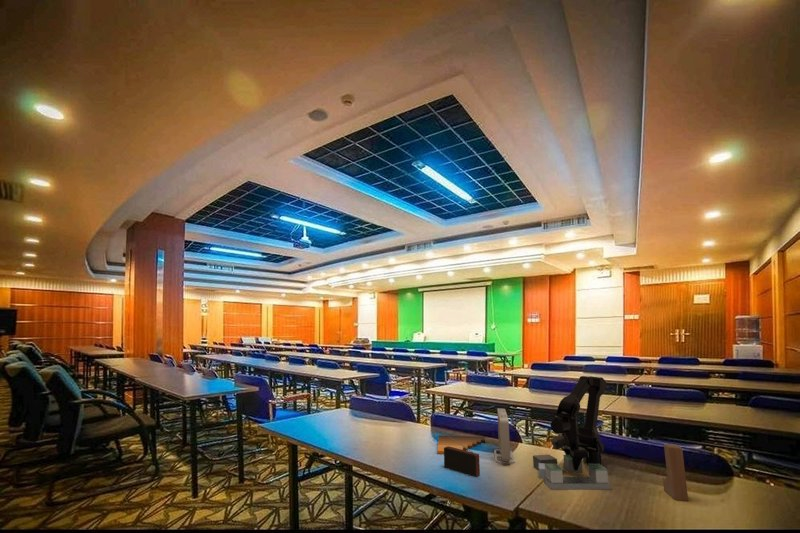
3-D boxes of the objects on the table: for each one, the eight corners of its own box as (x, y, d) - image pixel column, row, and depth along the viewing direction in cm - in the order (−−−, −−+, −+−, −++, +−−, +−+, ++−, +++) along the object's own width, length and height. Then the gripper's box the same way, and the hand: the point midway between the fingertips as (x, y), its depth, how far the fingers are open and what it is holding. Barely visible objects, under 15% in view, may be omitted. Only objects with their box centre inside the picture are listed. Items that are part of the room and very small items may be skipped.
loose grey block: (550, 466, 171) (549, 454, 171) (557, 471, 165) (556, 459, 166) (533, 467, 169) (532, 455, 170) (540, 472, 163) (540, 460, 164)
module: (578, 469, 166) (576, 454, 167) (582, 473, 162) (581, 458, 163) (564, 469, 166) (563, 454, 167) (568, 473, 162) (567, 458, 163)
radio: (480, 475, 160) (479, 437, 162) (476, 477, 158) (475, 439, 160) (444, 464, 172) (444, 430, 175) (440, 466, 170) (440, 431, 173)
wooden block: (663, 489, 145) (658, 440, 148) (676, 491, 144) (671, 440, 147) (674, 500, 136) (668, 447, 139) (688, 501, 135) (682, 447, 138)
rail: (601, 481, 153) (599, 463, 154) (610, 489, 146) (609, 469, 147) (544, 482, 153) (543, 463, 154) (550, 489, 146) (549, 469, 147)
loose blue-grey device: (551, 474, 162) (551, 464, 162) (552, 480, 155) (551, 469, 156) (539, 472, 163) (538, 462, 164) (539, 478, 157) (538, 468, 157)
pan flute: (484, 442, 208) (438, 440, 211) (484, 435, 208) (438, 434, 212) (489, 457, 183) (437, 455, 187) (489, 450, 184) (437, 448, 187)
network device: (515, 466, 170) (513, 419, 173) (495, 465, 171) (493, 418, 175) (511, 449, 194) (509, 408, 198) (493, 448, 196) (491, 407, 199)
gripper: (544, 424, 176) (546, 460, 173) (561, 436, 158) (563, 476, 155) (568, 424, 176) (570, 460, 173) (587, 436, 158) (591, 476, 155)
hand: (573, 468), depth 164 cm, fingers closed on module, 4 cm apart
